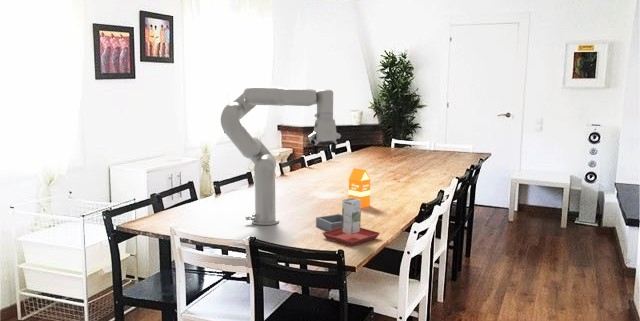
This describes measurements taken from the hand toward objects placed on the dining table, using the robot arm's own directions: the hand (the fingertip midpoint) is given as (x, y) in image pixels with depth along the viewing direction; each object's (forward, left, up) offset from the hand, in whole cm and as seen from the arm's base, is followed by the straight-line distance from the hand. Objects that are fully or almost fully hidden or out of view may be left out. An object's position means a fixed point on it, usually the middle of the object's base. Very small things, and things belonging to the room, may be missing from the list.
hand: (324, 153), depth 253 cm
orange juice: (+35, +20, -33) cm, 53 cm away
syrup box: (-4, -28, -31) cm, 42 cm away
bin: (0, -10, -33) cm, 35 cm away
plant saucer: (-4, -28, -34) cm, 45 cm away
